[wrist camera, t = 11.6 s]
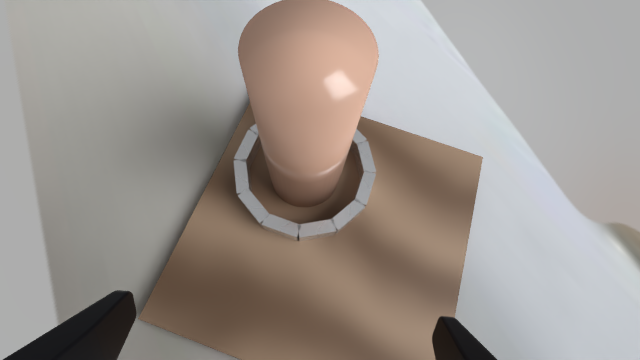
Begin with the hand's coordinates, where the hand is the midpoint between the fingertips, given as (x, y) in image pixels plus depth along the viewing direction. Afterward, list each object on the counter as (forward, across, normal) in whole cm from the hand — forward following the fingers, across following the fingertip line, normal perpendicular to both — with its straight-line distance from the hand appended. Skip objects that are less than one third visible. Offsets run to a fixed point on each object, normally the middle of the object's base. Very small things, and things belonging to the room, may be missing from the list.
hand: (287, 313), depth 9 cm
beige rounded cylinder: (+13, 0, +2) cm, 13 cm away
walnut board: (+11, -2, +5) cm, 12 cm away
